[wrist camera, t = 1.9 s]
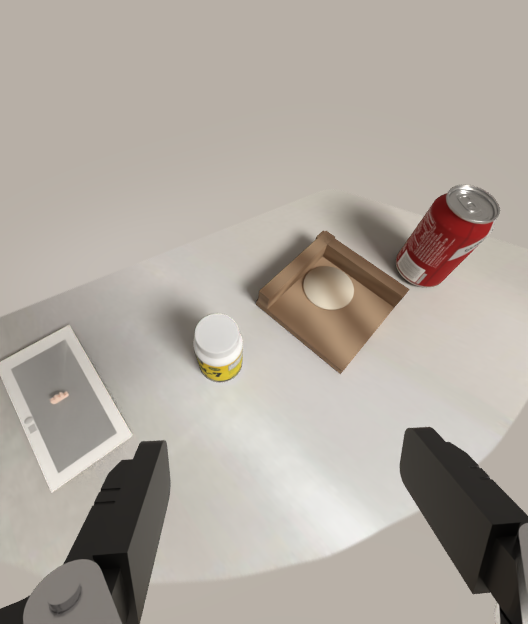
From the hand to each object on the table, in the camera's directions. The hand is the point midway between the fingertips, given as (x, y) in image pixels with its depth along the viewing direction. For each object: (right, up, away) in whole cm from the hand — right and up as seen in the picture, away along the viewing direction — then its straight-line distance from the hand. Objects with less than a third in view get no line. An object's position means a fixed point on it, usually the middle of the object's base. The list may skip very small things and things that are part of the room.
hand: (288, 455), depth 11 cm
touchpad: (-21, -5, +23) cm, 32 cm away
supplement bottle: (-6, -1, +25) cm, 26 cm away
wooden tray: (+7, +6, +30) cm, 31 cm away
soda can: (+20, +11, +34) cm, 41 cm away
